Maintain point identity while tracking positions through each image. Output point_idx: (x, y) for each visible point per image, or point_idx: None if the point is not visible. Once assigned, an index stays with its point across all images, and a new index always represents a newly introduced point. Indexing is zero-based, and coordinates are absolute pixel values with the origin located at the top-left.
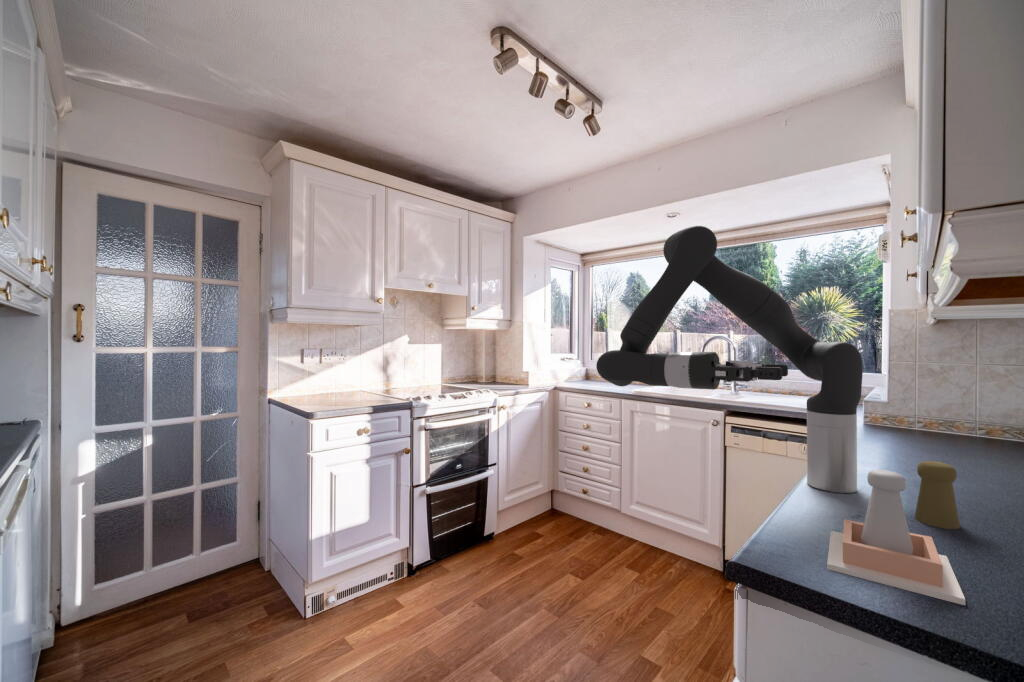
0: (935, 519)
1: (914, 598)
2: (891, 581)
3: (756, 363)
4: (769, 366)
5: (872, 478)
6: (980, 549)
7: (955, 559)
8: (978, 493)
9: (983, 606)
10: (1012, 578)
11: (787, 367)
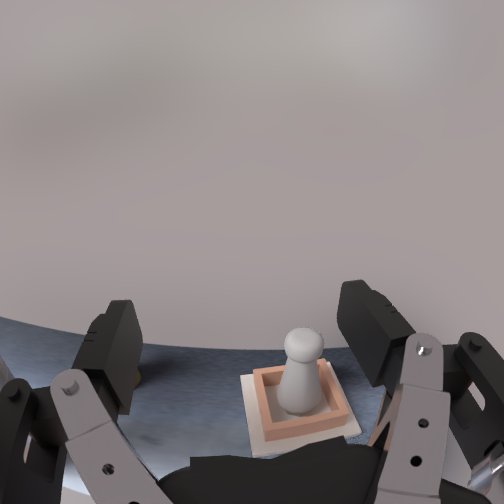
0: (136, 376)
1: (349, 384)
2: (344, 394)
3: (24, 407)
4: (112, 358)
5: (320, 349)
6: (185, 361)
7: (228, 374)
8: (28, 340)
9: (317, 359)
10: (241, 350)
11: (131, 305)
